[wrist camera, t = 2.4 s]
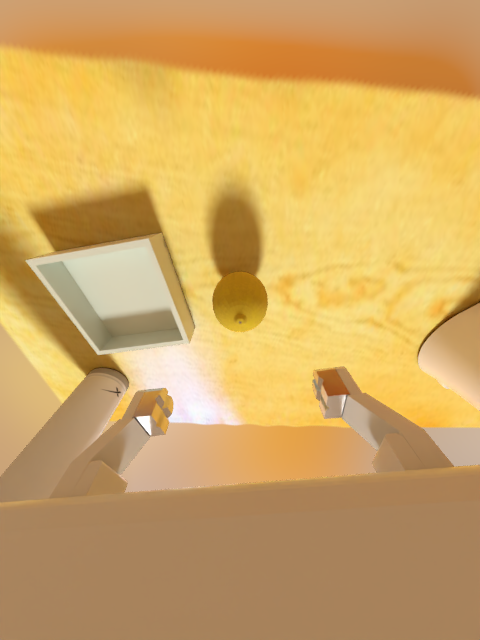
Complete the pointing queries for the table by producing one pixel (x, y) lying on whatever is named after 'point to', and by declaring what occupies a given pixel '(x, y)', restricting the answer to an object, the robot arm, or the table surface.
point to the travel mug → (64, 437)
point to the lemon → (240, 301)
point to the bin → (119, 293)
